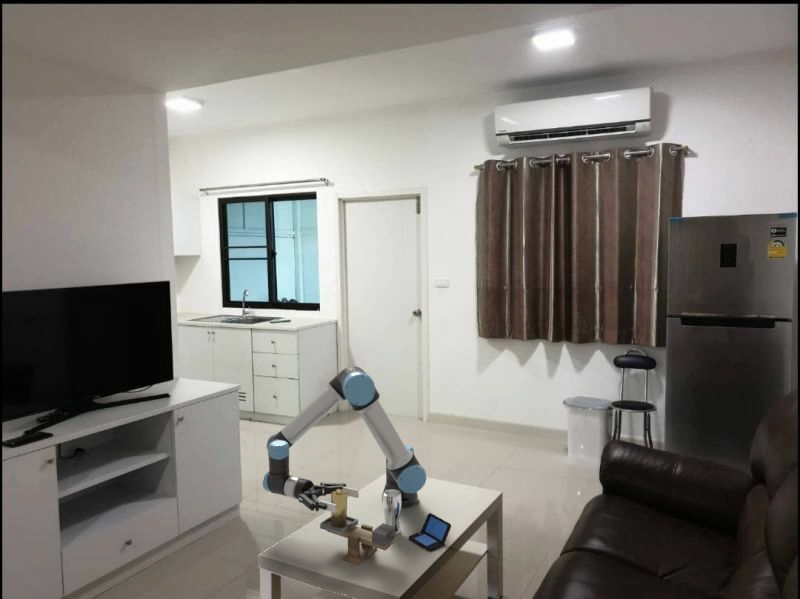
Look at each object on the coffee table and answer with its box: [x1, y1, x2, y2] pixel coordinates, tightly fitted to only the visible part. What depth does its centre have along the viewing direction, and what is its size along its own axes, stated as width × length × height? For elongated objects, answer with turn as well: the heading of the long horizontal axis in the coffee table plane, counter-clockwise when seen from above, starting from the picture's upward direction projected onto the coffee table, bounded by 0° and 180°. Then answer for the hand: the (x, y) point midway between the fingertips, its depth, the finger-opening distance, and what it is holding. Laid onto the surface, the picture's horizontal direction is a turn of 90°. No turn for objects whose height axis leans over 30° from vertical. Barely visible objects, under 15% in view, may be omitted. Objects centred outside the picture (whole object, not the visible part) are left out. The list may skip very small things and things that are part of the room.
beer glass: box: [382, 489, 402, 536], centre depth 225 cm, size 7×7×15 cm
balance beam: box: [319, 515, 396, 551], centre depth 209 cm, size 10×26×6 cm, turn 60°
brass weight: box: [330, 489, 348, 527], centre depth 212 cm, size 6×6×12 cm
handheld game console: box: [407, 512, 452, 552], centre depth 218 cm, size 12×11×7 cm
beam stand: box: [343, 523, 378, 565], centre depth 209 cm, size 12×6×8 cm, turn 150°
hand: (347, 501), depth 210 cm, fingers open, 13 cm apart
